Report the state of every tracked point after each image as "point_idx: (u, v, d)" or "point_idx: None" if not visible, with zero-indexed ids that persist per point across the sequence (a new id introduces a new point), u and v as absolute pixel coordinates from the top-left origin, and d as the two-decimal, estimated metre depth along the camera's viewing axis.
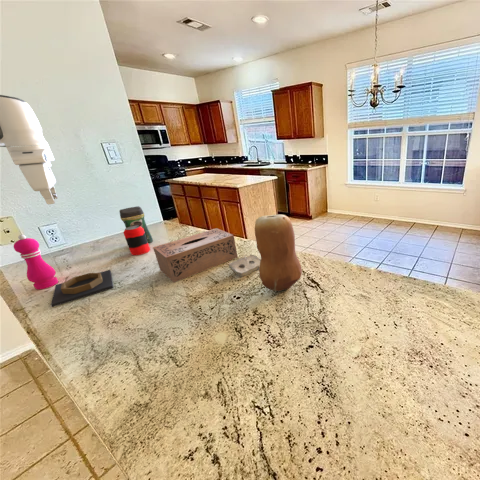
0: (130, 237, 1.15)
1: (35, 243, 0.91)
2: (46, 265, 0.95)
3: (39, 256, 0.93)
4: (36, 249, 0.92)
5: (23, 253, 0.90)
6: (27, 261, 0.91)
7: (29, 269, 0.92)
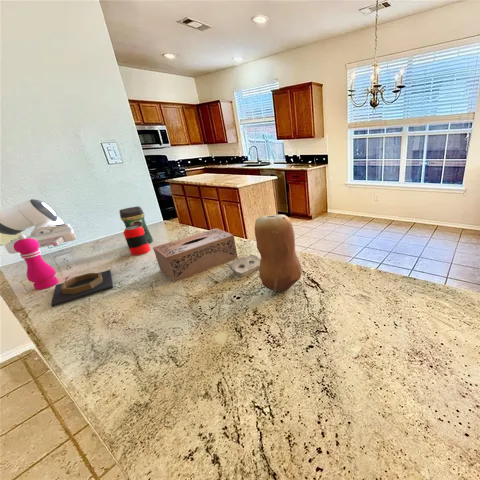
0: (130, 237, 1.15)
1: (34, 243, 0.91)
2: (46, 265, 0.95)
3: (39, 256, 0.93)
4: (36, 249, 0.92)
5: (23, 253, 0.90)
6: (27, 261, 0.91)
7: (29, 269, 0.92)
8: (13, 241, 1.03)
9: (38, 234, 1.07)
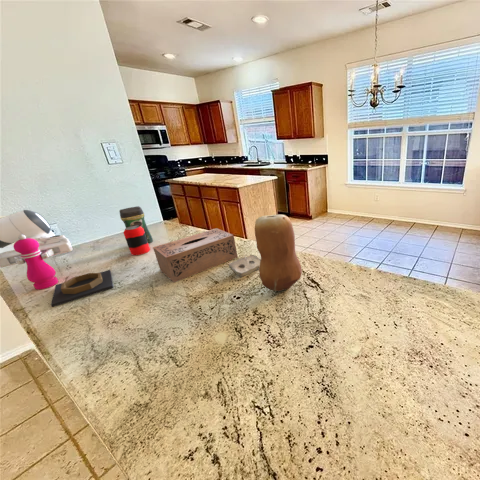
0: (130, 237, 1.15)
1: (34, 243, 0.91)
2: (46, 265, 0.95)
3: (39, 256, 0.93)
4: (36, 249, 0.92)
5: (23, 253, 0.90)
6: (27, 261, 0.91)
7: (29, 269, 0.92)
8: (2, 254, 0.93)
9: None
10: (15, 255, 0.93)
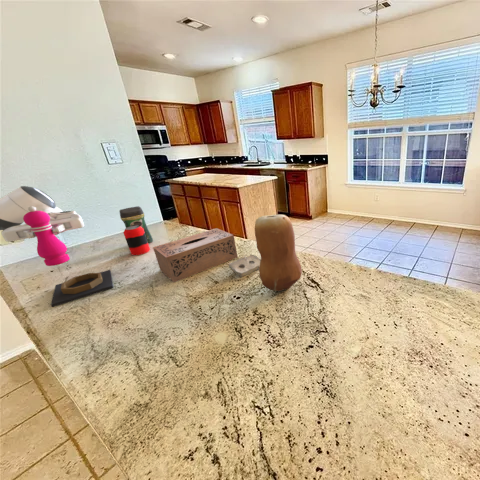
0: (130, 237, 1.15)
1: (45, 216, 0.86)
2: (57, 240, 0.90)
3: (50, 230, 0.88)
4: (47, 222, 0.87)
5: (33, 226, 0.84)
6: (37, 235, 0.86)
7: (40, 244, 0.86)
8: (10, 228, 0.88)
9: None
10: (25, 229, 0.87)
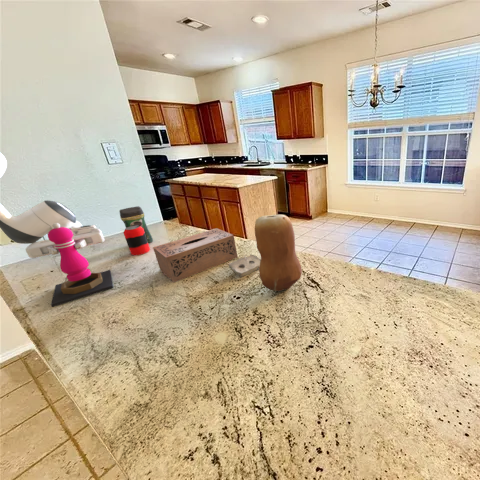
0: (130, 237, 1.15)
1: (69, 232, 0.87)
2: (80, 256, 0.90)
3: (73, 246, 0.89)
4: (70, 239, 0.87)
5: (57, 243, 0.85)
6: (61, 251, 0.87)
7: (63, 260, 0.87)
8: (34, 244, 0.89)
9: None
10: (48, 245, 0.88)
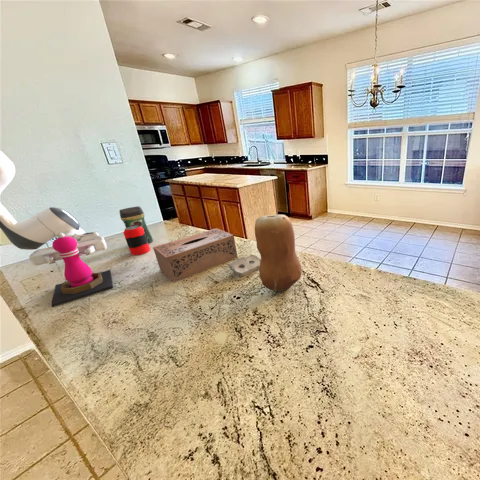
0: (130, 237, 1.15)
1: (73, 242, 0.88)
2: (84, 264, 0.92)
3: (77, 255, 0.90)
4: (74, 248, 0.89)
5: (62, 252, 0.87)
6: (65, 260, 0.88)
7: (67, 268, 0.89)
8: (37, 251, 0.90)
9: None
10: (51, 253, 0.89)
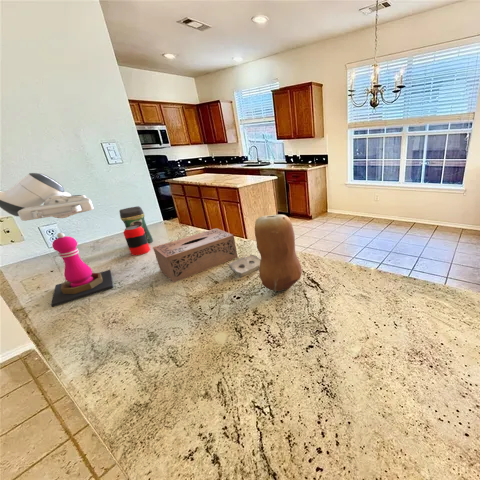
0: (130, 237, 1.15)
1: (73, 242, 0.88)
2: (83, 264, 0.92)
3: (77, 255, 0.90)
4: (74, 248, 0.89)
5: (62, 252, 0.87)
6: (65, 260, 0.88)
7: (67, 268, 0.89)
8: (26, 208, 0.94)
9: (52, 203, 0.99)
10: (39, 209, 0.94)
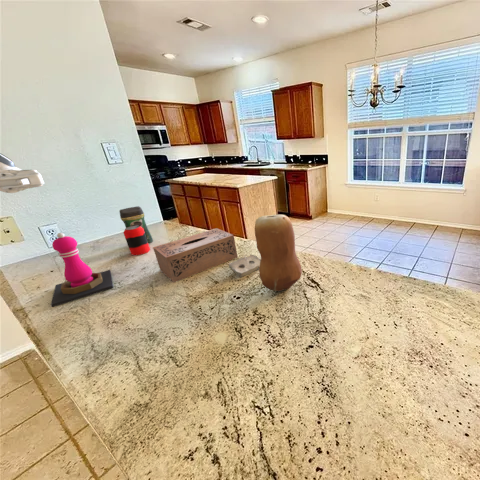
0: (130, 237, 1.15)
1: (73, 242, 0.88)
2: (83, 264, 0.92)
3: (77, 255, 0.90)
4: (74, 248, 0.89)
5: (62, 252, 0.87)
6: (65, 260, 0.88)
7: (67, 268, 0.89)
8: None
9: None
10: None
